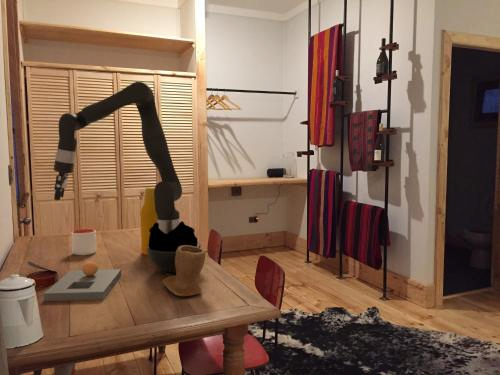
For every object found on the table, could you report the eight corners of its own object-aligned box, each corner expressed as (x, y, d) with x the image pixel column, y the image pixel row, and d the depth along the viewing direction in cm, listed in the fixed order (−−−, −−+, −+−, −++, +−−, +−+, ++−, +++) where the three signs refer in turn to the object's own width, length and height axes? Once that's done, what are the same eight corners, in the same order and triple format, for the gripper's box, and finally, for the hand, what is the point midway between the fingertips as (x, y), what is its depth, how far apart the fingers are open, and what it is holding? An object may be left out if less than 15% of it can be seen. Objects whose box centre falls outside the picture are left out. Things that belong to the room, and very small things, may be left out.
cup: (100, 250, 193) (99, 229, 192) (90, 256, 183) (89, 233, 182) (79, 250, 194) (78, 228, 193) (68, 255, 184) (67, 233, 183)
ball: (99, 273, 150) (99, 259, 150) (95, 277, 146) (94, 263, 145) (85, 273, 150) (84, 259, 150) (80, 278, 145) (79, 263, 145)
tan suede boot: (211, 295, 136) (210, 249, 134) (175, 301, 130) (174, 253, 129) (195, 281, 149) (194, 239, 147) (161, 286, 144) (160, 243, 142)
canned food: (30, 294, 150) (28, 267, 153) (61, 287, 154) (58, 261, 157) (23, 289, 140) (21, 260, 143) (56, 282, 144) (53, 254, 147)
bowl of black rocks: (211, 268, 164) (210, 220, 163) (177, 283, 147) (176, 229, 145) (171, 261, 175) (170, 216, 173) (136, 274, 157) (134, 224, 156)
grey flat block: (121, 275, 156) (121, 269, 155) (103, 299, 132) (103, 291, 132) (71, 277, 154) (70, 270, 154) (44, 301, 131) (43, 293, 130)
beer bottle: (164, 254, 186) (162, 188, 183) (142, 256, 183) (140, 189, 180) (160, 249, 195) (159, 186, 192) (140, 251, 191) (138, 187, 188)
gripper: (71, 163, 172) (65, 202, 173) (76, 161, 185) (70, 197, 187) (52, 160, 170) (45, 199, 171) (58, 158, 183) (52, 194, 185)
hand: (58, 198), depth 179 cm, fingers open, 8 cm apart
